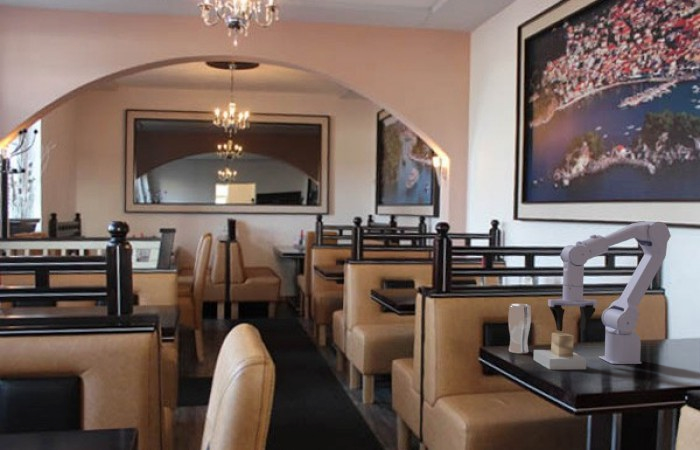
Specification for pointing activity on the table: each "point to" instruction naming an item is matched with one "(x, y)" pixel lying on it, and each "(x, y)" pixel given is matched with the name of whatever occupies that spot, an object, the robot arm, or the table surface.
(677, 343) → the table surface
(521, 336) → the beer glass
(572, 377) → the table surface
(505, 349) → the table surface
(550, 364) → the ceramic box
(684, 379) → the table surface
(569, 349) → the beech block
